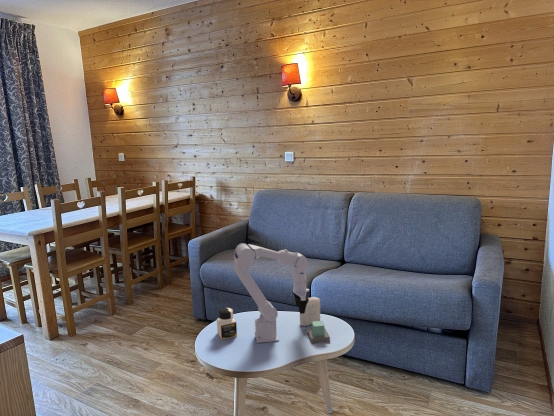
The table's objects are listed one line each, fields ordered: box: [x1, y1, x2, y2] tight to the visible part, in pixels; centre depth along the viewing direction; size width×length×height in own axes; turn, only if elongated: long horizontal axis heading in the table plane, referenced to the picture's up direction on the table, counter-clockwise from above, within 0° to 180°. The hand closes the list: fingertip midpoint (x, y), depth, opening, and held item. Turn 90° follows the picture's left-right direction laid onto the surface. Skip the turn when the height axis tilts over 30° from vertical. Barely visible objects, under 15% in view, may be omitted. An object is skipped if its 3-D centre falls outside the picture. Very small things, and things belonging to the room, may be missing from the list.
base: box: [306, 327, 331, 344], centre depth 165 cm, size 8×8×2 cm
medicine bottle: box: [216, 307, 238, 341], centre depth 169 cm, size 7×7×12 cm
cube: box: [311, 320, 325, 336], centre depth 165 cm, size 4×4×4 cm
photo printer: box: [299, 296, 321, 327], centre depth 178 cm, size 10×4×12 cm, turn 119°
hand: (300, 309), depth 170 cm, fingers open, 7 cm apart
